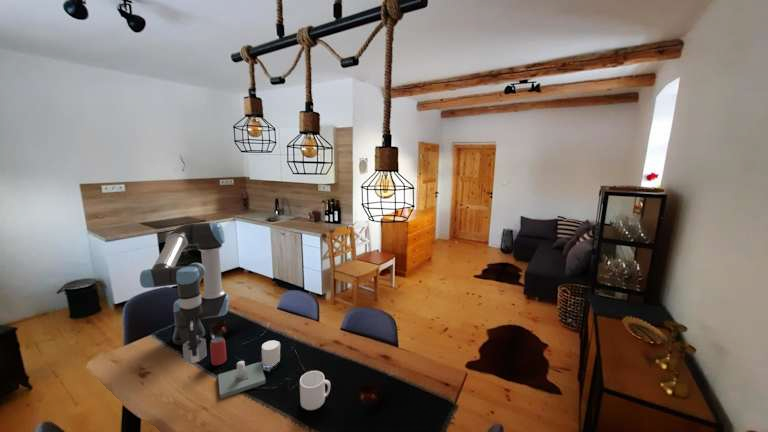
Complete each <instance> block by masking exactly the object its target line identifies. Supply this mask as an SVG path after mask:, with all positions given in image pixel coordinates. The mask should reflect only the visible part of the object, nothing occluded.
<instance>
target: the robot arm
mask: <svg viewBox="0 0 768 432" xmlns="http://www.w3.org/2000/svg"><path fill="white" fill-rule="evenodd" d="M223 229H224V228H223V226H222V225H221V224H220V223H219V222H201V223H199V222H197V223H187V224H183V225H181V226H178V227H176V228H175V229H174V230H172V231H171V232H170V233H169V234H168V235H167V237H166V238H165V241H164V243H165V245H164V247H163V248H162V250H161V252H160V254H159V255H158V257H157V259H156V261H155V263H154V264H153V266H152V268H148V269H143V270H142V271H141V272H140V275H139V283H140V286H141V287H142V288H144V289H147V288H149V289H150V288H153V289H154V288H161V287H168V286H177V294H178V295H177V296H178V299H177V300H175V301H174V303H173V319H174V325H175V326H174V327H175V328H174V332H173V335H172V343H174V344H175V345H178V346H183V344H184V343H186V342H187V341H189V345H190V348H188V350H190V353H191V363H190V364H194V363H198V362H200V361H199V351H198V345H197V338H204V336H205V335H206V330H205V328H204V325H203V323H202V322H201V320H203V319H209V318H217V317H218V318H219V317H223V316H225V315H227V314H228V310H229V303H230V302H229V300H230V294H228V293H226V290H225V289H223V283H222V282H223V281H222V272H221V271H222V270H221V259H220V258H221V257H220V256H221V255H220V249H221V248H222V247H223V245H224V243H225V239H226V238H225V233H224V230H223ZM189 246H197V250H198V251H200V253H201V263H200V262H193V263H190V264H189V265H185V266H184V265H183V266H176V265H177V263H178V261H179V259H180V256H181V255H182V252H183V250H184V249H186V248H187V247H189ZM202 280H203V285H204V286H203V288H204V292H203V293H201V281H202Z"/></svg>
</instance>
